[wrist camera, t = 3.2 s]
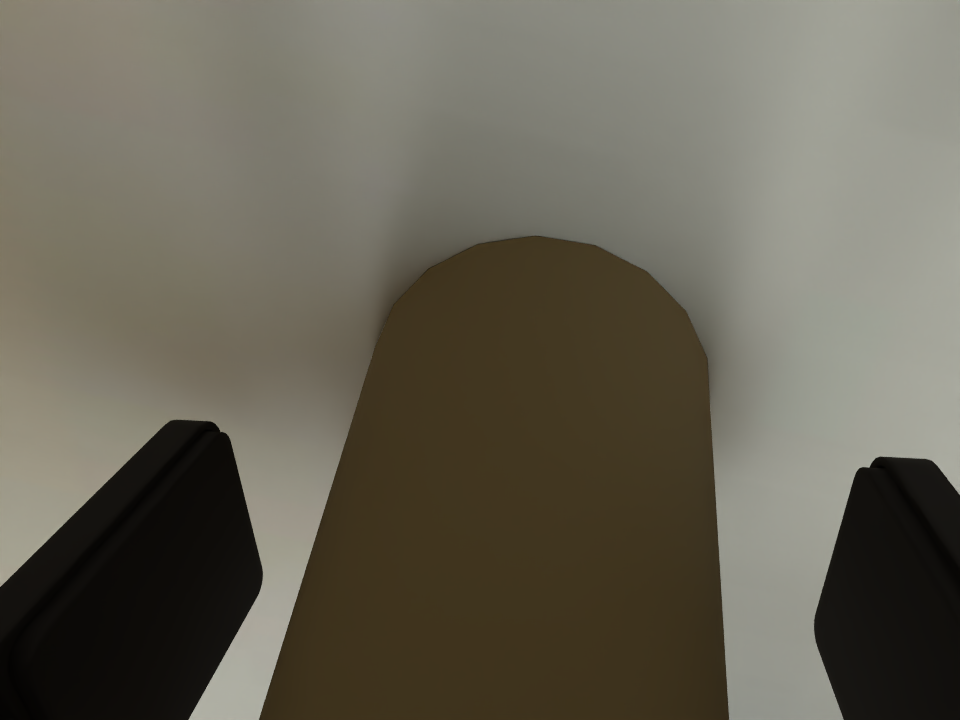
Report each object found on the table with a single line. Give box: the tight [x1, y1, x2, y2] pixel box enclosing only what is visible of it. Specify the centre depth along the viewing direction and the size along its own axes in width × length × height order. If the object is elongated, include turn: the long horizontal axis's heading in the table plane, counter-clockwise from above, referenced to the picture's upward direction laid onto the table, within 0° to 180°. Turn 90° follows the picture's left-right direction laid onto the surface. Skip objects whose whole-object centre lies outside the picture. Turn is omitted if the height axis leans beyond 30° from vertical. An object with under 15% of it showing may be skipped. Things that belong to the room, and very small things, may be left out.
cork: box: [259, 236, 729, 720], centre depth 7 cm, size 6×6×11 cm
